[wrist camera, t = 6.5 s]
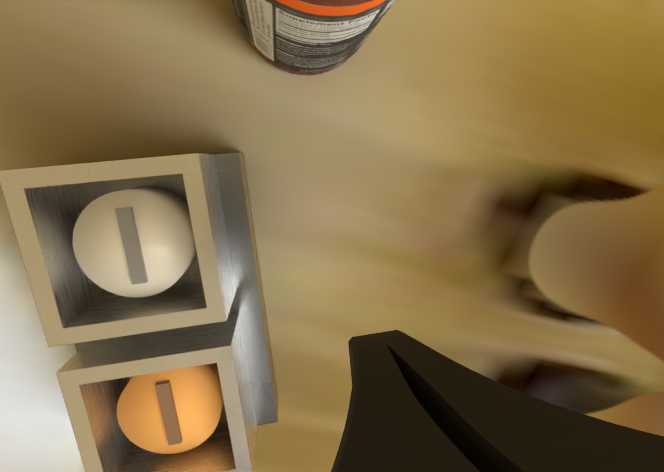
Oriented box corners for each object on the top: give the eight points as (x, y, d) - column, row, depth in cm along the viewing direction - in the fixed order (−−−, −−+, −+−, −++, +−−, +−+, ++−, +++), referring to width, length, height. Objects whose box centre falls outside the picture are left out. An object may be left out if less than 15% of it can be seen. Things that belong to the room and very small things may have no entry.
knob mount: (277, 395, 20) (277, 473, 15) (123, 423, 19) (68, 515, 14) (243, 153, 17) (229, 150, 12) (58, 169, 16) (-40, 174, 11)
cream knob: (209, 273, 16) (198, 291, 13) (112, 286, 15) (84, 306, 13) (192, 181, 15) (178, 184, 13) (89, 191, 14) (55, 197, 12)
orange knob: (233, 411, 17) (226, 447, 15) (146, 427, 17) (126, 466, 15) (220, 335, 16) (211, 362, 14) (127, 350, 16) (103, 379, 14)
